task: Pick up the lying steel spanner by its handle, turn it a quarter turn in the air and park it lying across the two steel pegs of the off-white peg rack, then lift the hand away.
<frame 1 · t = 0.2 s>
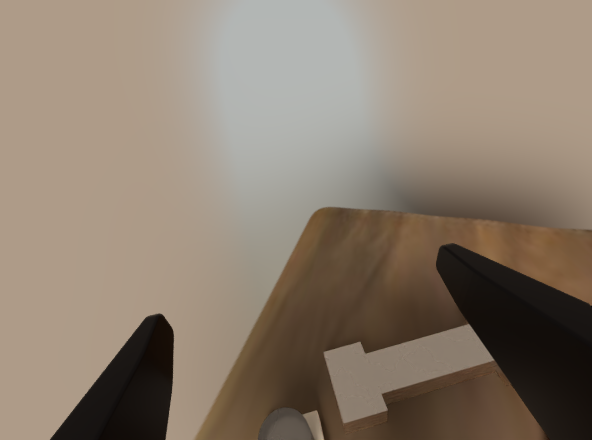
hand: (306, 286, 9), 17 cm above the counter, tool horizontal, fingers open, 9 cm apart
spanner: (428, 370, 22), on the counter
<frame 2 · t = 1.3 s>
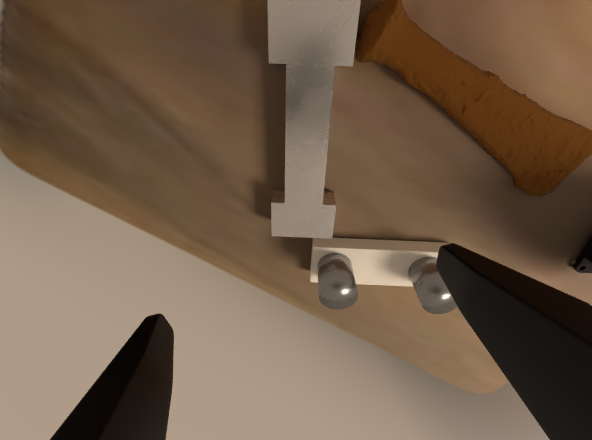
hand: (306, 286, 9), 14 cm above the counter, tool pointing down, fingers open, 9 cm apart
peg rack: (376, 257, 26), on the counter
spanner: (306, 133, 20), on the counter
primitive tool: (481, 102, 20), on the counter
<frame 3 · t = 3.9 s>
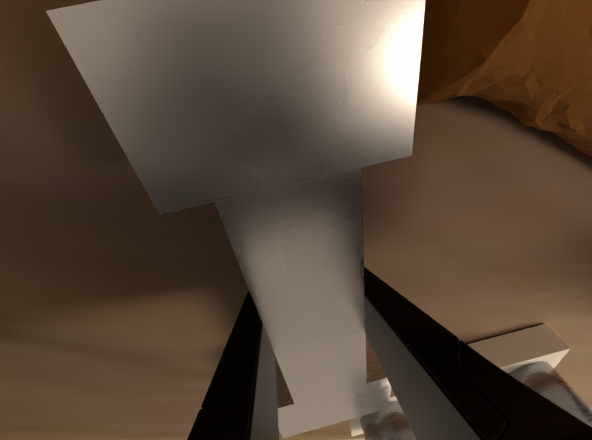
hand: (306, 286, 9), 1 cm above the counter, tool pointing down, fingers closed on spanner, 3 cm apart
peg rack: (439, 367, 17), on the counter
spanner: (300, 264, 10), on the counter, touching gripper
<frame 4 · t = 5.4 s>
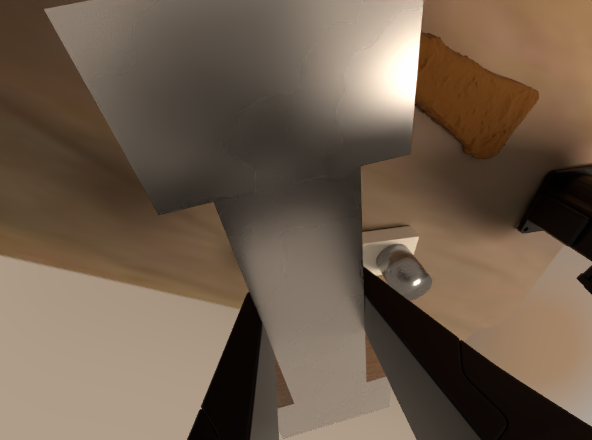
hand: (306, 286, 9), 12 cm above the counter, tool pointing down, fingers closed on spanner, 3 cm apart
peg rack: (342, 252, 25), on the counter
spanner: (299, 264, 10), point 11 cm above the counter, touching gripper
primitive tool: (423, 69, 18), on the counter
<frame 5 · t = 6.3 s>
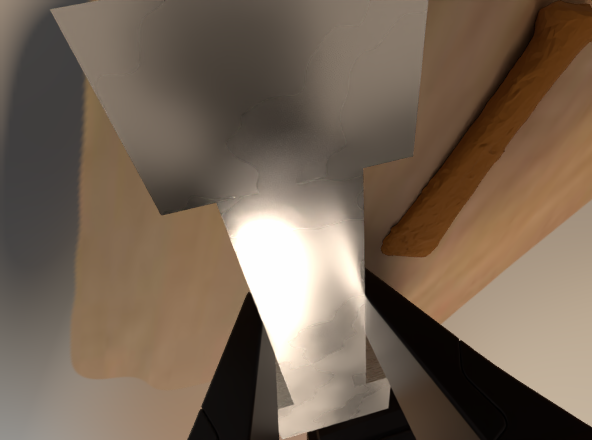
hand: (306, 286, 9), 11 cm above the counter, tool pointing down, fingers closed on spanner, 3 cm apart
spanner: (299, 265, 10), point 10 cm above the counter, touching gripper
primitive tool: (457, 161, 22), on the counter
when the fingers open (7 cm above the counter, at t = 7.5 s): spanner drops 1 cm, resting on peg rack.
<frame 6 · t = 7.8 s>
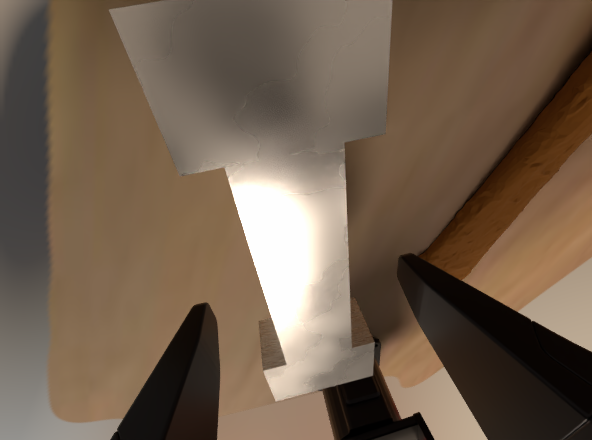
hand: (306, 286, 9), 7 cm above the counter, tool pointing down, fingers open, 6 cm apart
spanner: (294, 238, 11), point 5 cm above the counter, touching peg rack
primitive tool: (497, 180, 19), on the counter
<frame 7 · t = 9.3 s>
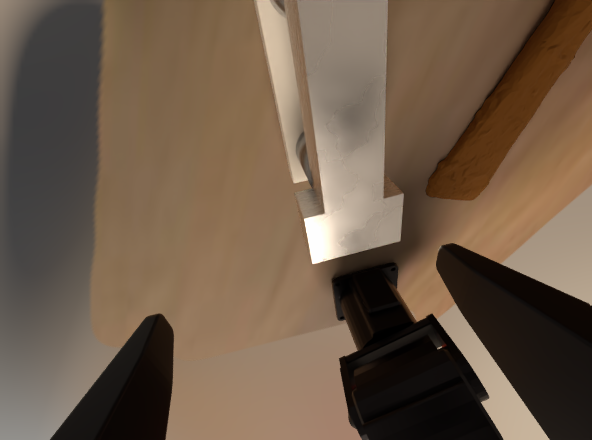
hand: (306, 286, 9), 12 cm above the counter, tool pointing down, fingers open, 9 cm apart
peg rack: (304, 72, 16), on the counter
spanner: (330, 92, 12), point 5 cm above the counter, touching peg rack
primitive tool: (514, 80, 20), on the counter
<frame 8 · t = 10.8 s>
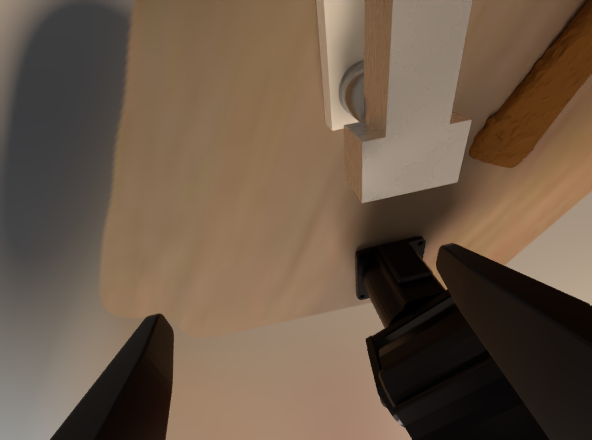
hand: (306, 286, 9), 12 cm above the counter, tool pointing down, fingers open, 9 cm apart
peg rack: (353, 3, 15), on the counter
primitive tool: (576, 32, 19), on the counter
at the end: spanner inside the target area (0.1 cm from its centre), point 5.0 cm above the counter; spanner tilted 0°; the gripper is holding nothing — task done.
